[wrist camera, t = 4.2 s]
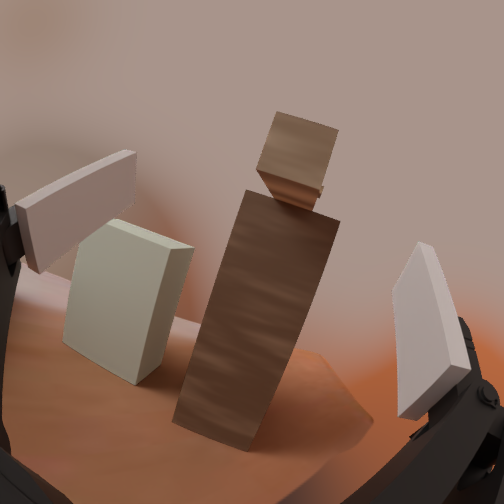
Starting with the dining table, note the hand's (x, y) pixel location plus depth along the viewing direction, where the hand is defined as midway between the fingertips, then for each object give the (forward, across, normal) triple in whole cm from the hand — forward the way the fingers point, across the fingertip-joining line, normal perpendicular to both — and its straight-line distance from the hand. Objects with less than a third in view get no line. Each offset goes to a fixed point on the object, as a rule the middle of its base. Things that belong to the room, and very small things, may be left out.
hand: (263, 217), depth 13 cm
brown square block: (+19, 0, -8) cm, 20 cm away
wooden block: (+9, 0, -35) cm, 36 cm away
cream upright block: (+10, -20, -36) cm, 42 cm away
